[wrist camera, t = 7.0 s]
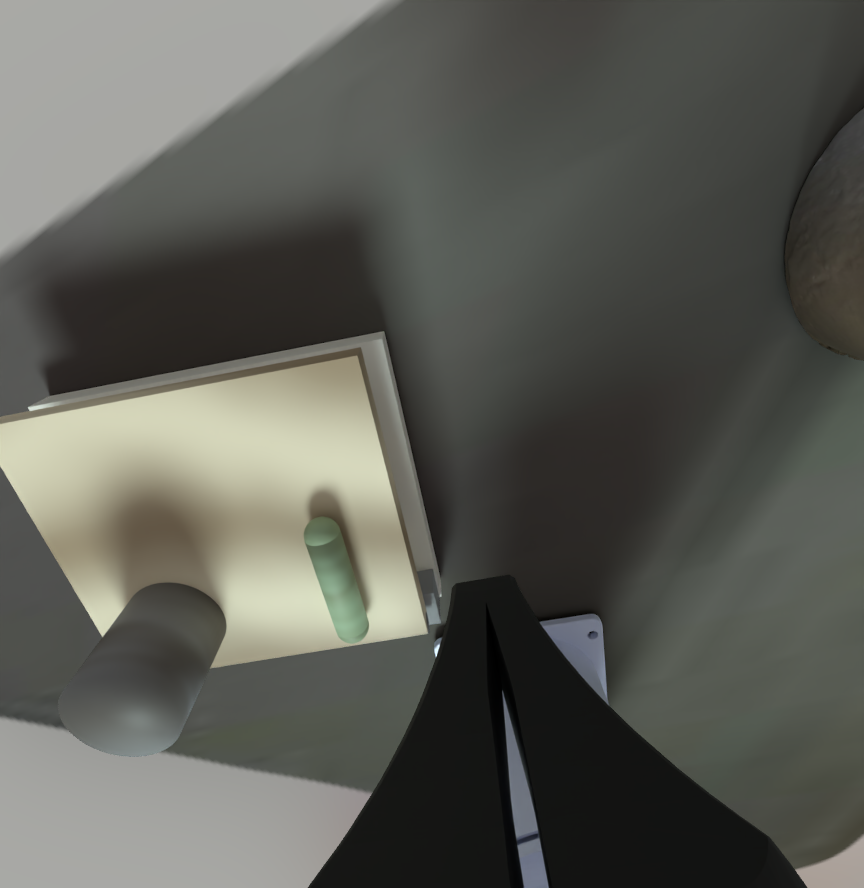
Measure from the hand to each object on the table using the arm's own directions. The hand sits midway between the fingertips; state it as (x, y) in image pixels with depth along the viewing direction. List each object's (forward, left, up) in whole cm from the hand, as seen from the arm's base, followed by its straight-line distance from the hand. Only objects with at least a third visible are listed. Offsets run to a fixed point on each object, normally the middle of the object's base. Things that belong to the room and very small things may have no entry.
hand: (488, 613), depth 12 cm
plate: (-1, +9, -7) cm, 11 cm away
